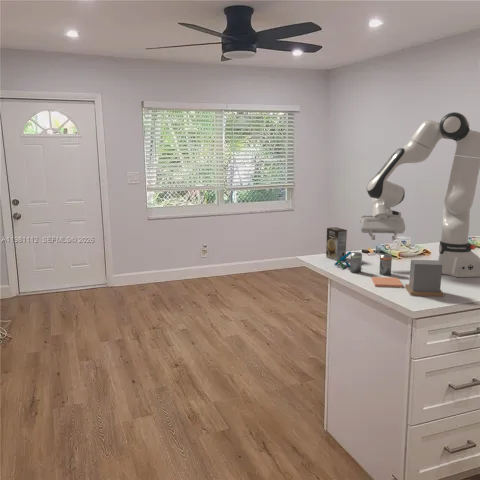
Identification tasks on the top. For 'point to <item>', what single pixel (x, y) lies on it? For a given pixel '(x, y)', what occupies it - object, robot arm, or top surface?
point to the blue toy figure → (343, 260)
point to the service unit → (425, 278)
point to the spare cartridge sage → (356, 262)
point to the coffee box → (336, 243)
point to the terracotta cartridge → (385, 264)
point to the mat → (386, 282)
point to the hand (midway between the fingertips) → (383, 239)
